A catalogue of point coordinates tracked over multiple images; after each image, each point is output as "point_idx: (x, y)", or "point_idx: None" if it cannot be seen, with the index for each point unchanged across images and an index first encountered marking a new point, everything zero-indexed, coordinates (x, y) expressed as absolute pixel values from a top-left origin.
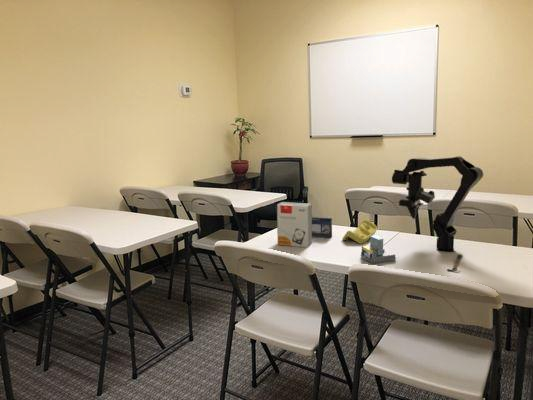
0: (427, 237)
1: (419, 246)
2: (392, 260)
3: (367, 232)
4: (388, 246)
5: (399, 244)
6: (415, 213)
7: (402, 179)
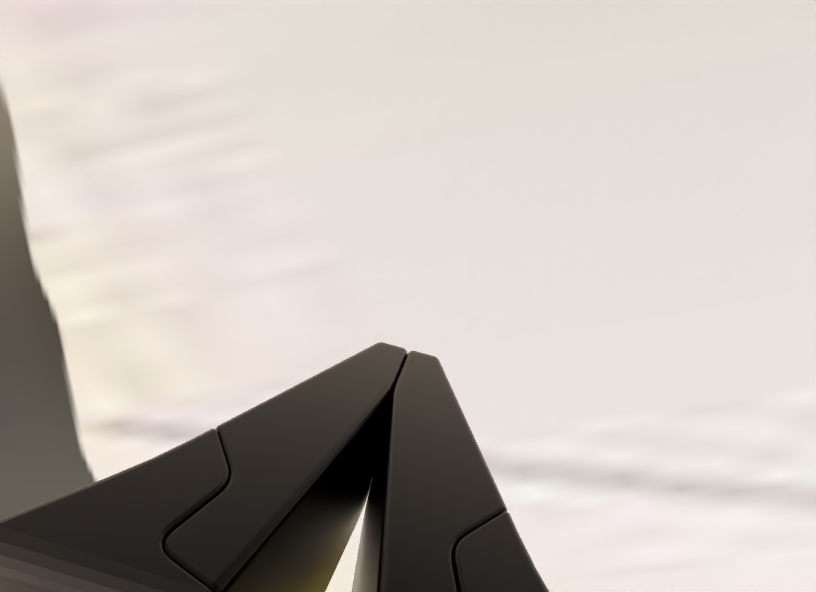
0: (63, 43)
1: (617, 35)
2: None
3: None
4: (769, 432)
5: (614, 327)
6: (440, 451)
7: None
